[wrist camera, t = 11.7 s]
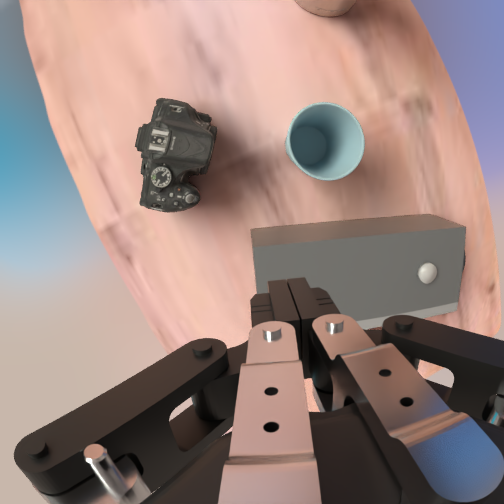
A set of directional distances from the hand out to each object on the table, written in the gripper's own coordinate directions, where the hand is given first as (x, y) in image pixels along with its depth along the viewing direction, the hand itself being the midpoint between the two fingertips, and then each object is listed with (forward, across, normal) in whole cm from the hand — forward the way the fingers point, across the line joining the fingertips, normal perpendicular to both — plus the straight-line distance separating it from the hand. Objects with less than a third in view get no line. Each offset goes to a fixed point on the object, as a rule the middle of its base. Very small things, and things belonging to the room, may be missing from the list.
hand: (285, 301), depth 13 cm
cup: (+29, -7, -7) cm, 31 cm away
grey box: (+29, -12, +8) cm, 32 cm away
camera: (+29, +8, -8) cm, 31 cm away
